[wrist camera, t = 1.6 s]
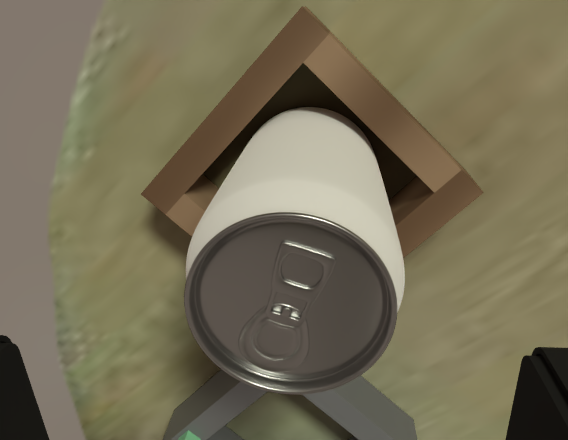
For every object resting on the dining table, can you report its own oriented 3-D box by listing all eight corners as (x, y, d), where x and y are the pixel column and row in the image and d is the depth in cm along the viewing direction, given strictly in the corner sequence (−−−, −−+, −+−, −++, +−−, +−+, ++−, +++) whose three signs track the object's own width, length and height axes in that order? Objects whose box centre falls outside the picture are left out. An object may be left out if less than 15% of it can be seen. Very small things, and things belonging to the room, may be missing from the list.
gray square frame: (413, 419, 29) (423, 471, 26) (294, 497, 33) (290, 552, 30) (286, 313, 27) (280, 355, 24) (174, 409, 31) (155, 457, 27)
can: (229, 209, 25) (147, 367, 14) (264, 85, 22) (197, 161, 11) (349, 247, 25) (361, 432, 14) (398, 129, 23) (458, 245, 12)
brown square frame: (465, 170, 23) (483, 192, 20) (311, 301, 27) (309, 334, 24) (306, 6, 21) (302, 6, 18) (162, 173, 24) (140, 194, 22)
